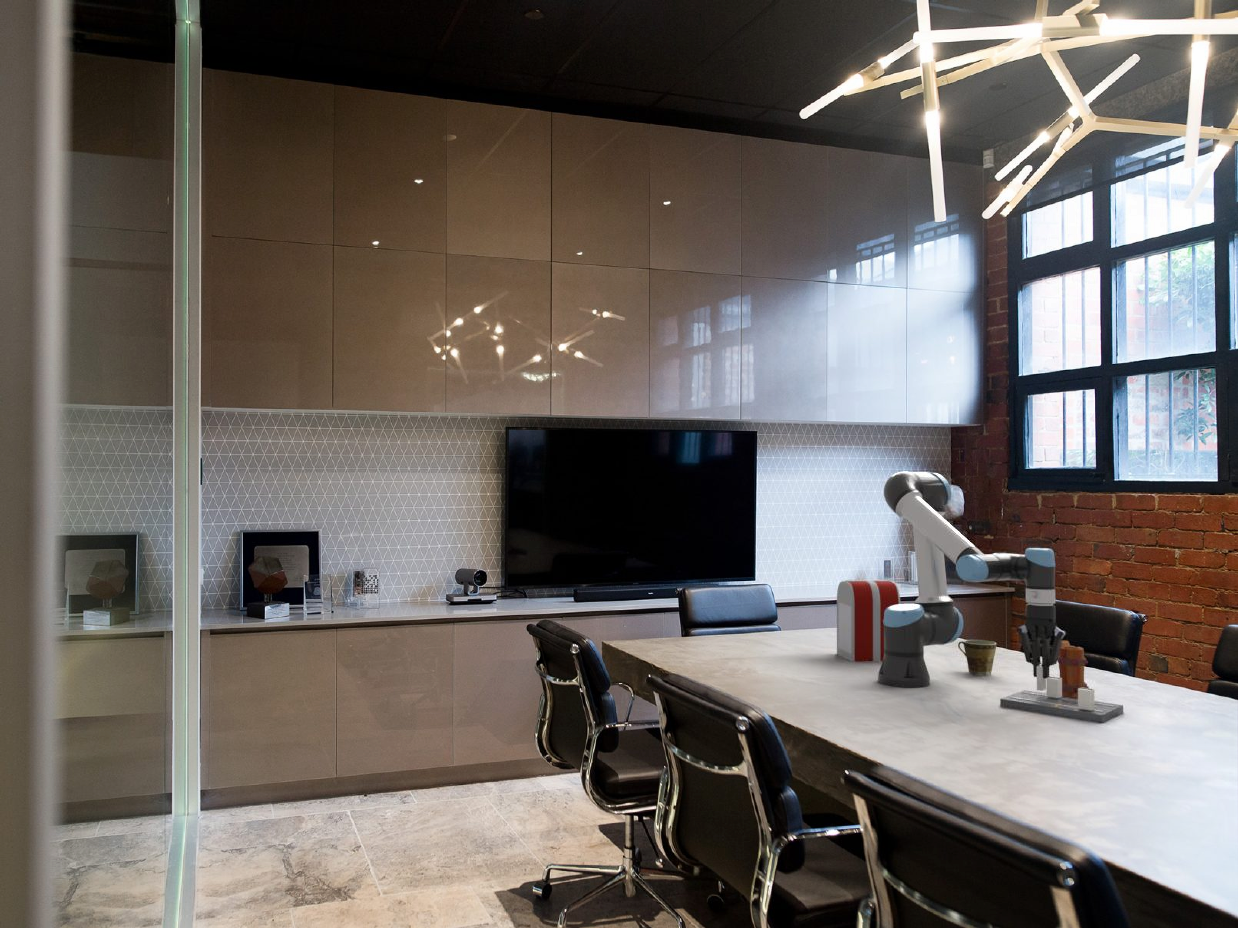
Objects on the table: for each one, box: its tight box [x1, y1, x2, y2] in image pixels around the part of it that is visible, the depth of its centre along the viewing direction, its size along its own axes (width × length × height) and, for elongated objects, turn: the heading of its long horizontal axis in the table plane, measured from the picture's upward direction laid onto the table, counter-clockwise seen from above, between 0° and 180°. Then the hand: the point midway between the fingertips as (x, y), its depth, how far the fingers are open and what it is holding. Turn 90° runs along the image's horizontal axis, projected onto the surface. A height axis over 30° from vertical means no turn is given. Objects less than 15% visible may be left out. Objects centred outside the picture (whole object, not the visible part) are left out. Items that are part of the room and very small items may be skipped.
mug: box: [1057, 640, 1090, 698], centre depth 272 cm, size 15×8×15 cm, turn 168°
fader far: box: [1046, 676, 1062, 698], centre depth 260 cm, size 3×3×5 cm
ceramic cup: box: [957, 639, 997, 676], centre depth 306 cm, size 13×10×10 cm
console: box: [999, 689, 1124, 724], centre depth 255 cm, size 26×16×2 cm, turn 45°
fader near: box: [1078, 687, 1095, 710], centre depth 246 cm, size 3×3×5 cm
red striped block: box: [836, 579, 901, 663], centre depth 334 cm, size 16×18×27 cm
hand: (1041, 689), depth 263 cm, fingers closed
